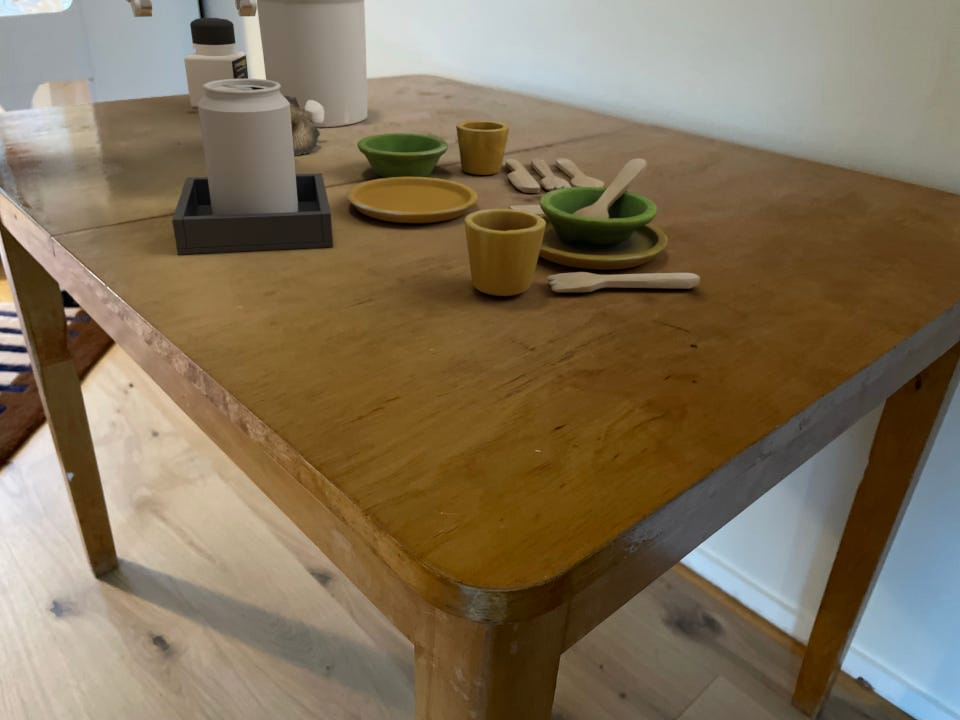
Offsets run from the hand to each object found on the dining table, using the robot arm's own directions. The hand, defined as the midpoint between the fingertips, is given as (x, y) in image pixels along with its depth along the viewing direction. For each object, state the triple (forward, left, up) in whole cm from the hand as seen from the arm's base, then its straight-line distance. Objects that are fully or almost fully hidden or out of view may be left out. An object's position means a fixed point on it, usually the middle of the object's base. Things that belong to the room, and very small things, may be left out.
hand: (197, 12), depth 72 cm
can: (+4, -12, -16) cm, 21 cm away
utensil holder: (+12, +35, -17) cm, 41 cm away
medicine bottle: (-2, +46, -17) cm, 49 cm away
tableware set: (+26, -12, -17) cm, 33 cm away
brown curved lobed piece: (+8, +18, -17) cm, 26 cm away
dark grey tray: (+4, -12, -17) cm, 21 cm away
